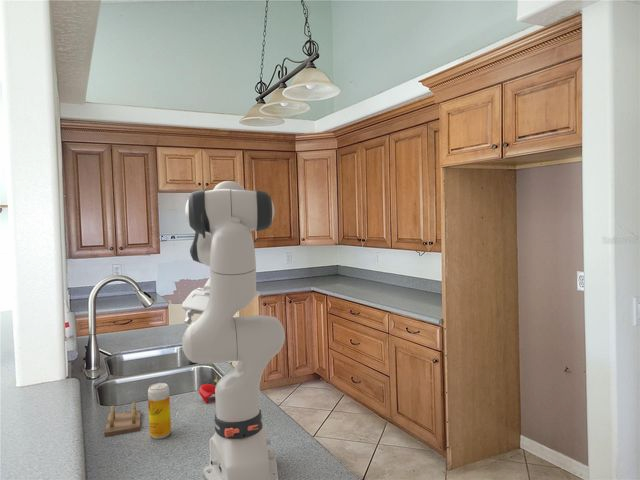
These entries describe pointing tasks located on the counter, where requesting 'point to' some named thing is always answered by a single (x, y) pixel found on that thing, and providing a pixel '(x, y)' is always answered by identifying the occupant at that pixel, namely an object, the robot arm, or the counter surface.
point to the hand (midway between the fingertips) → (196, 325)
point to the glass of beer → (159, 410)
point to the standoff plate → (123, 421)
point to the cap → (207, 391)
